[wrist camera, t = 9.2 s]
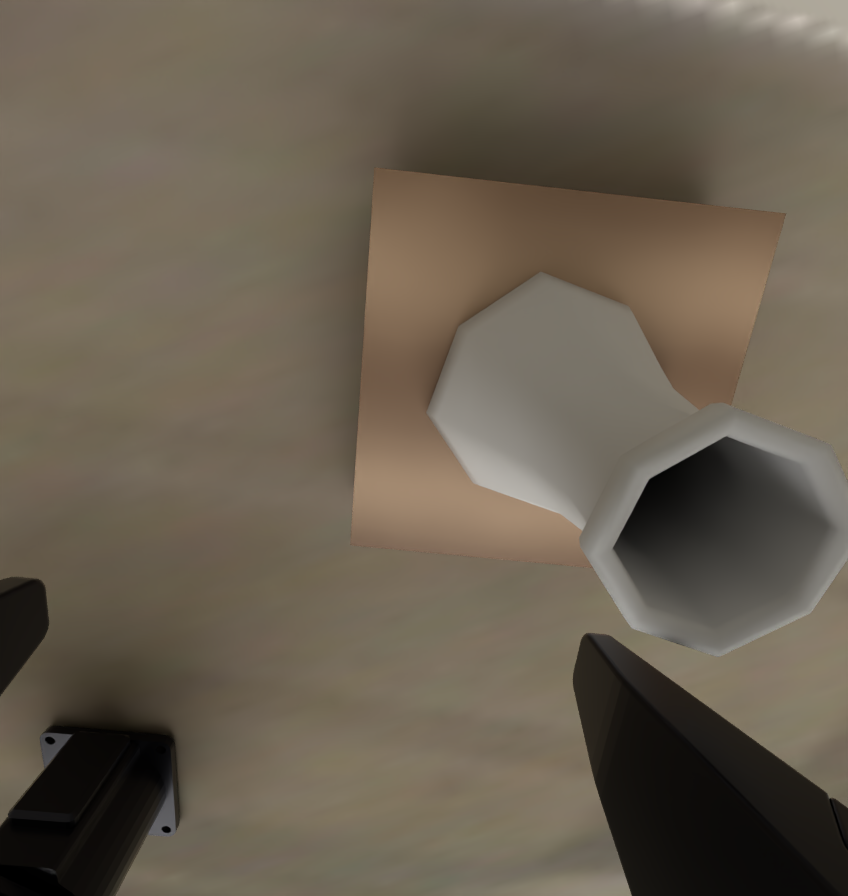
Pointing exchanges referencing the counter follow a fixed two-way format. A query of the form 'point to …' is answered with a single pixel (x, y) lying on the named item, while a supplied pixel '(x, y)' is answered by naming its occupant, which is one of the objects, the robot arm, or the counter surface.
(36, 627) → the robot arm
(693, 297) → the walnut block
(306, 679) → the counter surface
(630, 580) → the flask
